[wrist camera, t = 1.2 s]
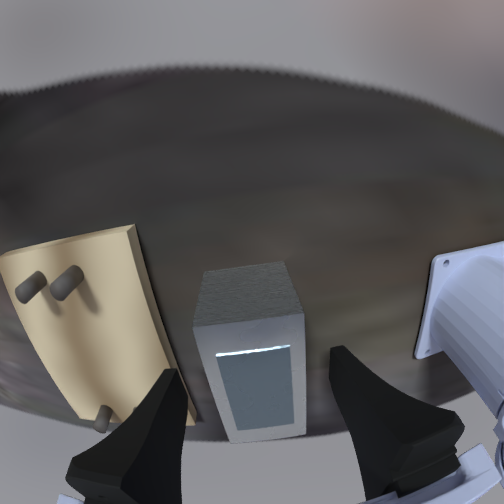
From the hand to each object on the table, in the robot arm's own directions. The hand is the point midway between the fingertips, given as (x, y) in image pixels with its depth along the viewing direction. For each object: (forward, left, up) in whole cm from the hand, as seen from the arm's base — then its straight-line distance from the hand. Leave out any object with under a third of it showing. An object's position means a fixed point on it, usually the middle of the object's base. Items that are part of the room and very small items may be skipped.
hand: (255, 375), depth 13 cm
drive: (0, 0, -4) cm, 4 cm away
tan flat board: (+10, 0, -4) cm, 11 cm away
